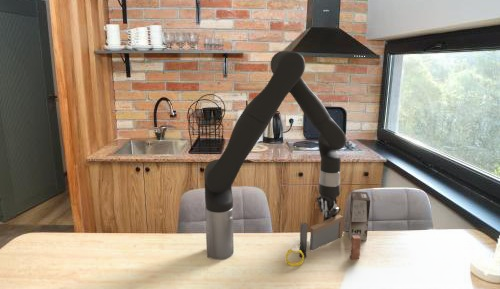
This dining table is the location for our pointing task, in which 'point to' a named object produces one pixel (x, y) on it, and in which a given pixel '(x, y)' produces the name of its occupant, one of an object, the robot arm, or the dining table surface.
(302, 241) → the gate post
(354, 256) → the block
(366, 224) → the coffee box
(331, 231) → the gate
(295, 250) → the watch
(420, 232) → the dining table surface
